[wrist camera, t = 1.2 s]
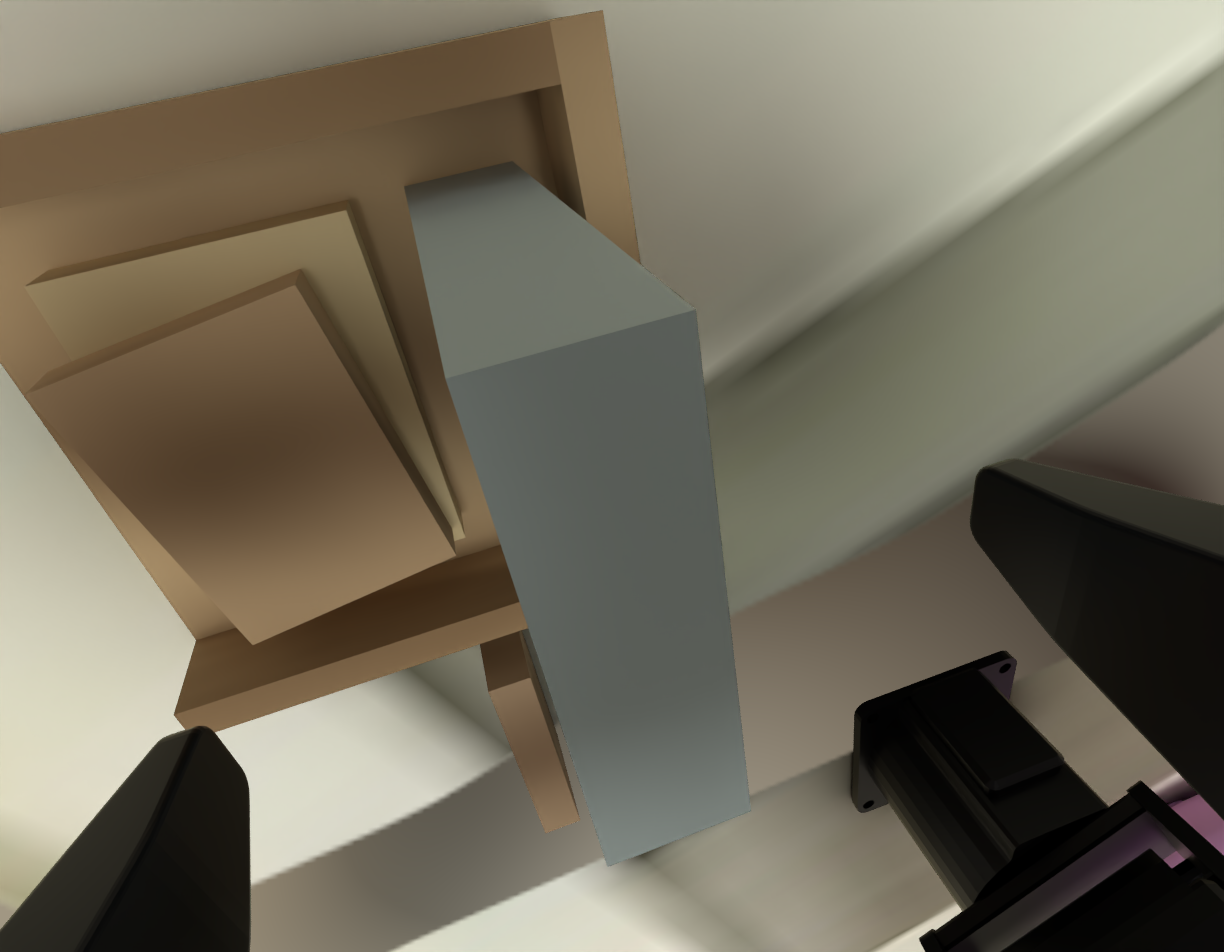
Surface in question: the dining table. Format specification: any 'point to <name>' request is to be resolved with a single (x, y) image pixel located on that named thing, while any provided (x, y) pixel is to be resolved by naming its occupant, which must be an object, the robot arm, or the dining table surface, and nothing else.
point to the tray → (374, 186)
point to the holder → (529, 728)
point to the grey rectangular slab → (594, 493)
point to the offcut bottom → (233, 263)
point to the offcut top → (253, 456)
